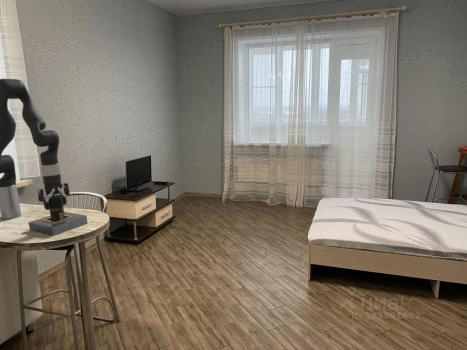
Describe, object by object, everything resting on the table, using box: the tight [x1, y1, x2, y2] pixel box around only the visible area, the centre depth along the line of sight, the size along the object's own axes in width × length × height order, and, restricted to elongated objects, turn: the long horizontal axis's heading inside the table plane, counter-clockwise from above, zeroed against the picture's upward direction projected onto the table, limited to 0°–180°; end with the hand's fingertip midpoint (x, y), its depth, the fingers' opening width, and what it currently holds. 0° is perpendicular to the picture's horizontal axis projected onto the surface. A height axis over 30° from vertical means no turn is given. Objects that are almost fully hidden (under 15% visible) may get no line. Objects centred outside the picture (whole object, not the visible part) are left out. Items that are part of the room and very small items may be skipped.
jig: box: [27, 211, 88, 237], centre depth 165 cm, size 18×18×4 cm
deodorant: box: [48, 194, 65, 222], centre depth 164 cm, size 6×6×15 cm
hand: (56, 207), depth 164 cm, fingers open, 8 cm apart
